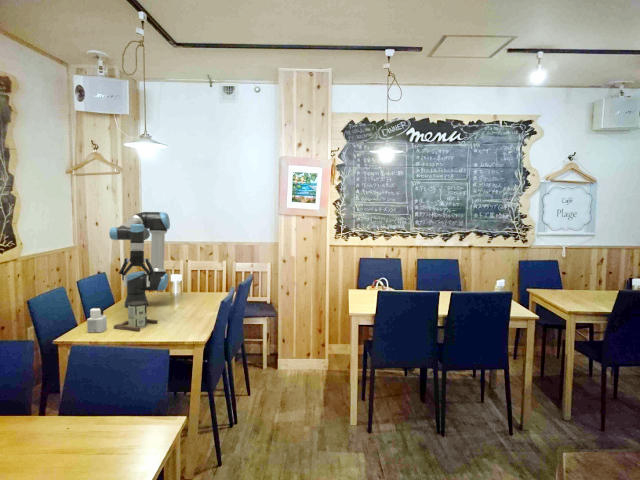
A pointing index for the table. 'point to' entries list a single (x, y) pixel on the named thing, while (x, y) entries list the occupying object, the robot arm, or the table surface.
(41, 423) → the table surface
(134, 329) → the dock
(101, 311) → the container
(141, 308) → the coffee can
